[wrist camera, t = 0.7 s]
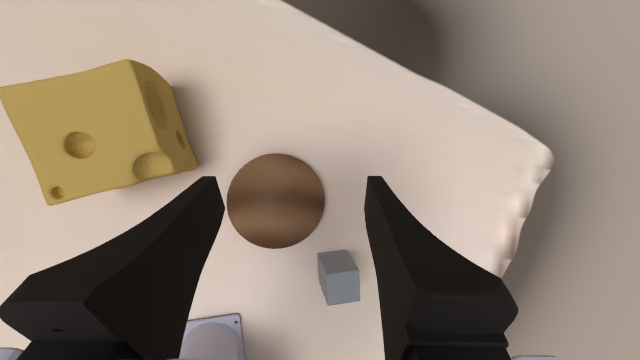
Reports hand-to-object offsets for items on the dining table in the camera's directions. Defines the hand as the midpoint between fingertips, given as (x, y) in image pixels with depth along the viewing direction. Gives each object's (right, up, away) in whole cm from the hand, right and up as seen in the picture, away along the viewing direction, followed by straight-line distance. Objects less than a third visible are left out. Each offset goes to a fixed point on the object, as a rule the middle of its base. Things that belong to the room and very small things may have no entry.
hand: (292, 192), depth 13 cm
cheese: (-20, +6, +19) cm, 28 cm away
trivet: (-4, -2, +23) cm, 23 cm away
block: (+3, -11, +26) cm, 28 cm away
